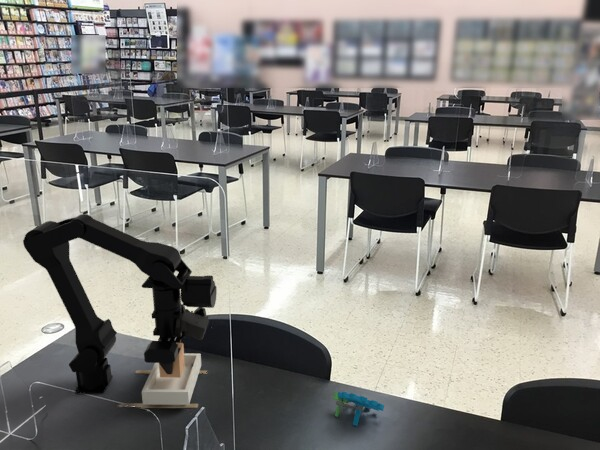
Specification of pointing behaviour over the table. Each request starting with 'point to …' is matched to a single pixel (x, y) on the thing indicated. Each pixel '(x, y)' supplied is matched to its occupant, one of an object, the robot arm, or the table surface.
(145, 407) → the track
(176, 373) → the part block
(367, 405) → the toy construction assembly
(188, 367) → the white open storage bin
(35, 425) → the table surface
